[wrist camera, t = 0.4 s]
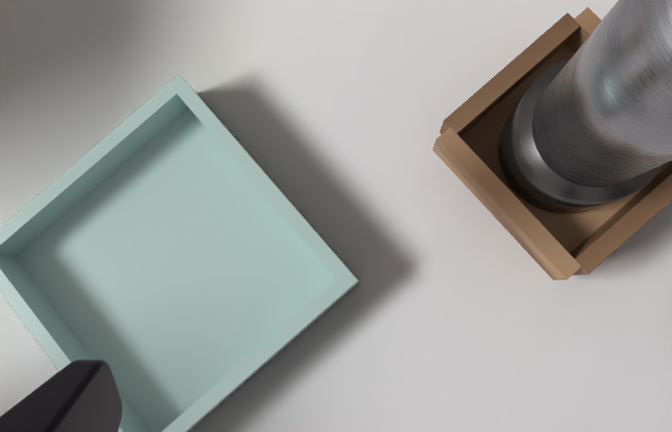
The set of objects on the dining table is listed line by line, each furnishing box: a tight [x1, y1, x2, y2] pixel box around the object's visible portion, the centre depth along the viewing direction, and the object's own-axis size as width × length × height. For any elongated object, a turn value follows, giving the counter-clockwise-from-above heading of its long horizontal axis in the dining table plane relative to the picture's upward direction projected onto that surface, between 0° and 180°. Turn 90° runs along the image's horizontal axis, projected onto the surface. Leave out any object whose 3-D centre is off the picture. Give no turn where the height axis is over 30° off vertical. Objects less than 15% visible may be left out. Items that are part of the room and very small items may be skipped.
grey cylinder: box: [498, 0, 672, 214], centre depth 15 cm, size 4×4×12 cm
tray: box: [0, 74, 360, 432], centre depth 21 cm, size 10×10×2 cm
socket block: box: [433, 7, 672, 280], centre depth 20 cm, size 7×7×2 cm
